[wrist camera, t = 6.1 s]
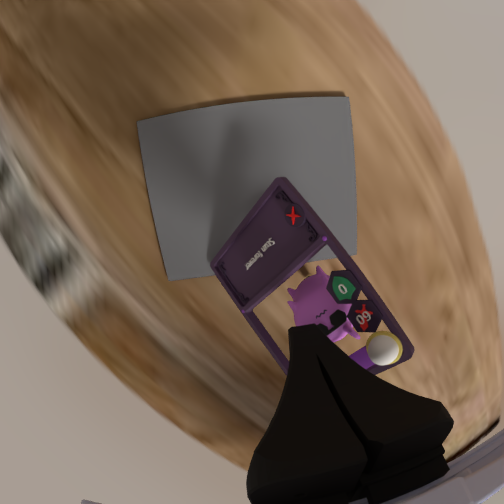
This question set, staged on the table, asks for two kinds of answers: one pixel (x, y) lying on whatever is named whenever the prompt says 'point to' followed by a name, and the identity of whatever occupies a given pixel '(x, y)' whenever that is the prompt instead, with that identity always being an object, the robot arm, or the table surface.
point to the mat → (245, 172)
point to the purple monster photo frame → (310, 289)
